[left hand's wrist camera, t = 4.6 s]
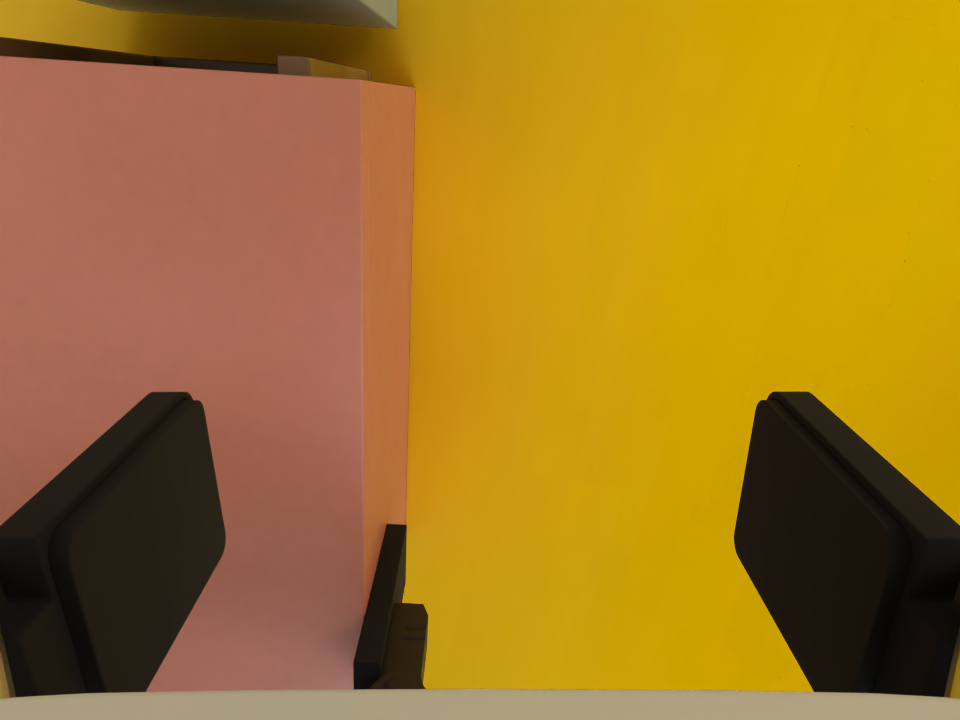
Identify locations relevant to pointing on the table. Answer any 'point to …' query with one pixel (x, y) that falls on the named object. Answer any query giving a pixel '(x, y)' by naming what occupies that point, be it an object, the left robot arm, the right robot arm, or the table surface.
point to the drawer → (321, 3)
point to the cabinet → (220, 326)
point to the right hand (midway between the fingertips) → (239, 544)
